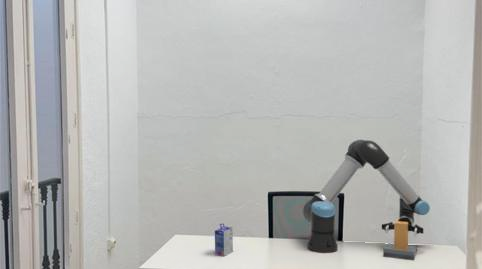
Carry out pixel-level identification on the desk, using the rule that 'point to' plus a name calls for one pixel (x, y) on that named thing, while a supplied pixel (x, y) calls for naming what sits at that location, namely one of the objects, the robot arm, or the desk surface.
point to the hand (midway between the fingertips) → (400, 231)
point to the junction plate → (400, 252)
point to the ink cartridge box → (223, 240)
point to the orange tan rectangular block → (401, 235)
